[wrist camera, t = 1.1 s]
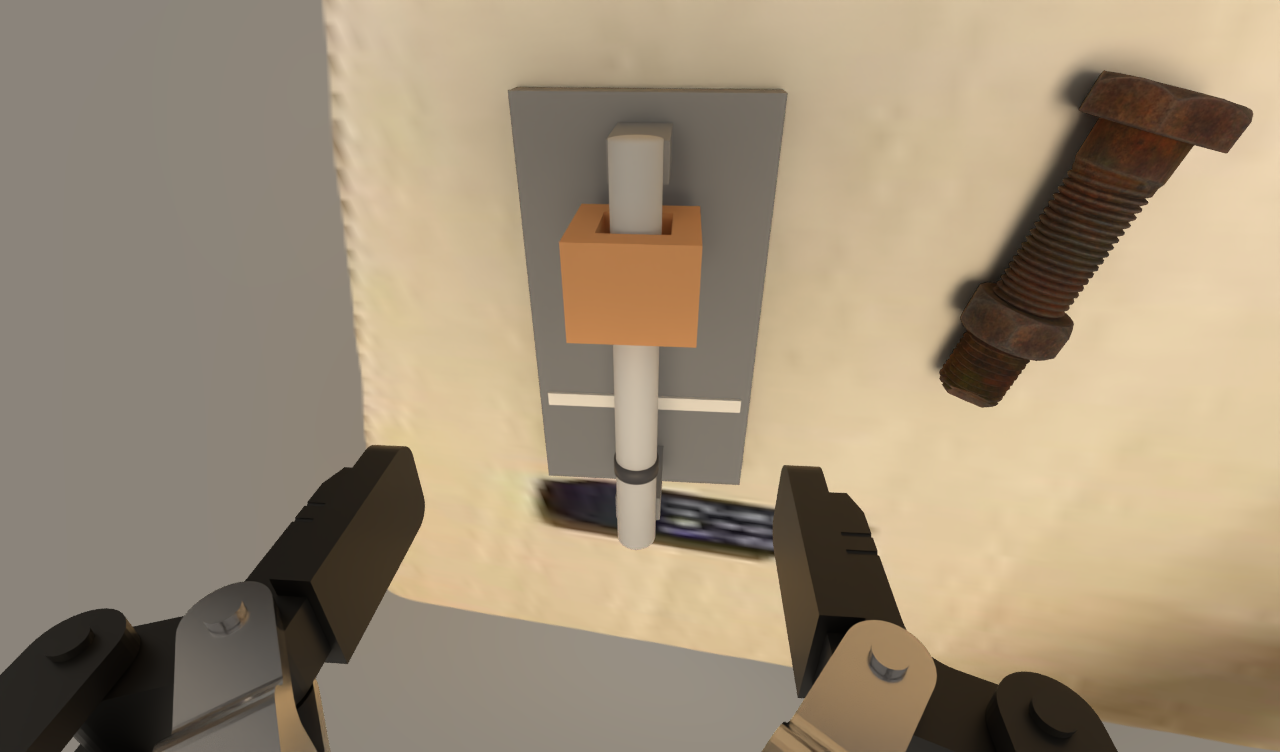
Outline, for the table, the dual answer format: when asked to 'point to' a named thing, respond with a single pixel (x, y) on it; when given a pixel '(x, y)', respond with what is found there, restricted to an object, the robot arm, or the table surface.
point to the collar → (632, 280)
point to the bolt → (1083, 225)
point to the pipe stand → (636, 190)
